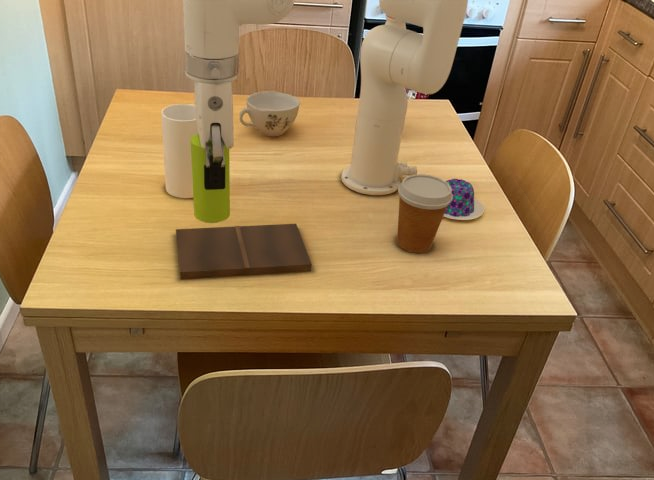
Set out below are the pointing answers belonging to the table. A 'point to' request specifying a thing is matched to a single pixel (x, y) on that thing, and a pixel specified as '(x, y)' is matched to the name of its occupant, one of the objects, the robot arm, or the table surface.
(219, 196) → the soap dispenser
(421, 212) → the disposable coffee cup
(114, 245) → the table surface
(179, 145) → the cup
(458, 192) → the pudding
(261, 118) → the teacup
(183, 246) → the walnut board
